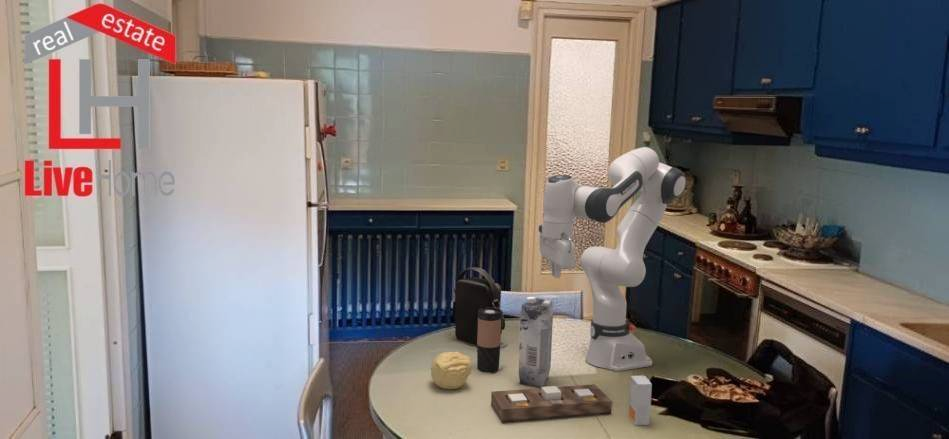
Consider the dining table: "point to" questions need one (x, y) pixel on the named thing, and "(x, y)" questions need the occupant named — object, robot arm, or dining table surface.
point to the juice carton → (535, 341)
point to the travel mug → (488, 339)
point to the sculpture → (450, 370)
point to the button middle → (550, 393)
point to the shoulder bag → (473, 305)
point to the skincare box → (640, 400)
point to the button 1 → (517, 398)
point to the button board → (550, 405)
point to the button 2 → (583, 393)
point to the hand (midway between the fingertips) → (555, 276)
